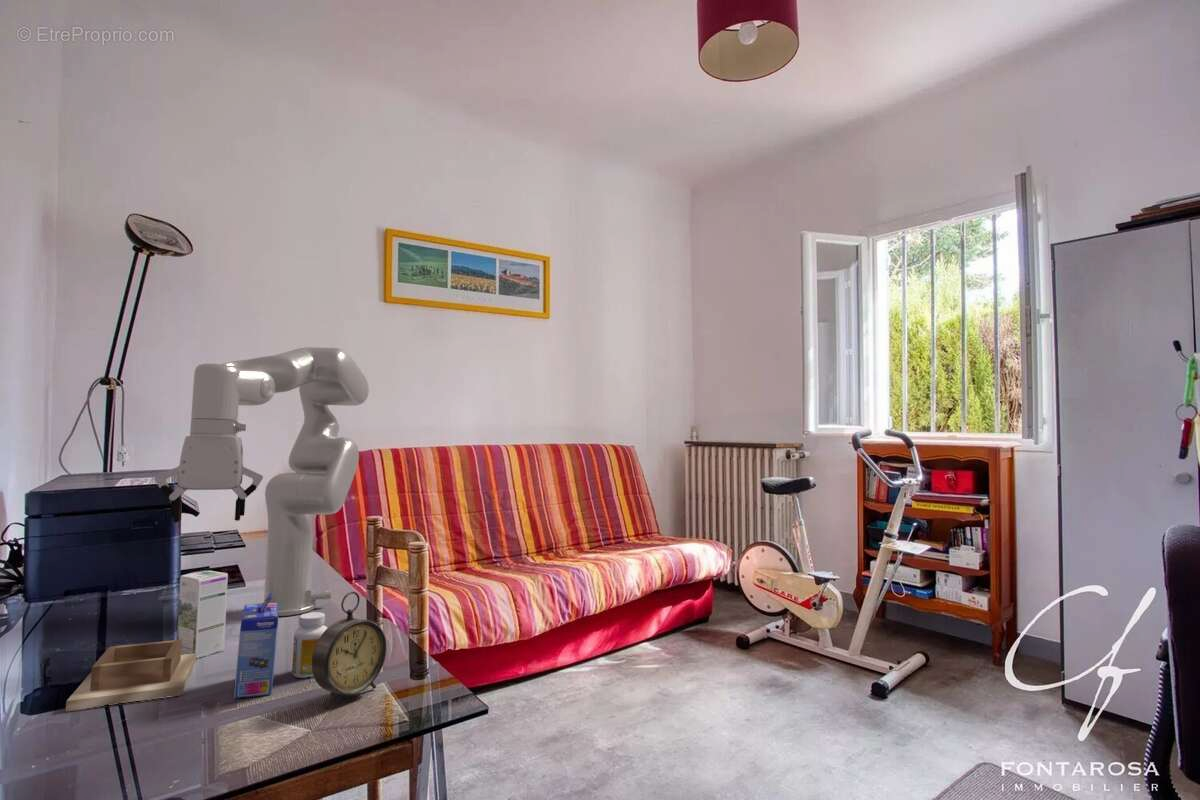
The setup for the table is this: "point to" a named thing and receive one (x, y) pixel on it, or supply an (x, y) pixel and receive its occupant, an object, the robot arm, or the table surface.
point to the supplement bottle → (306, 643)
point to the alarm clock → (349, 655)
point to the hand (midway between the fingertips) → (207, 520)
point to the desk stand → (134, 675)
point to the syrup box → (202, 612)
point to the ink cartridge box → (257, 649)
